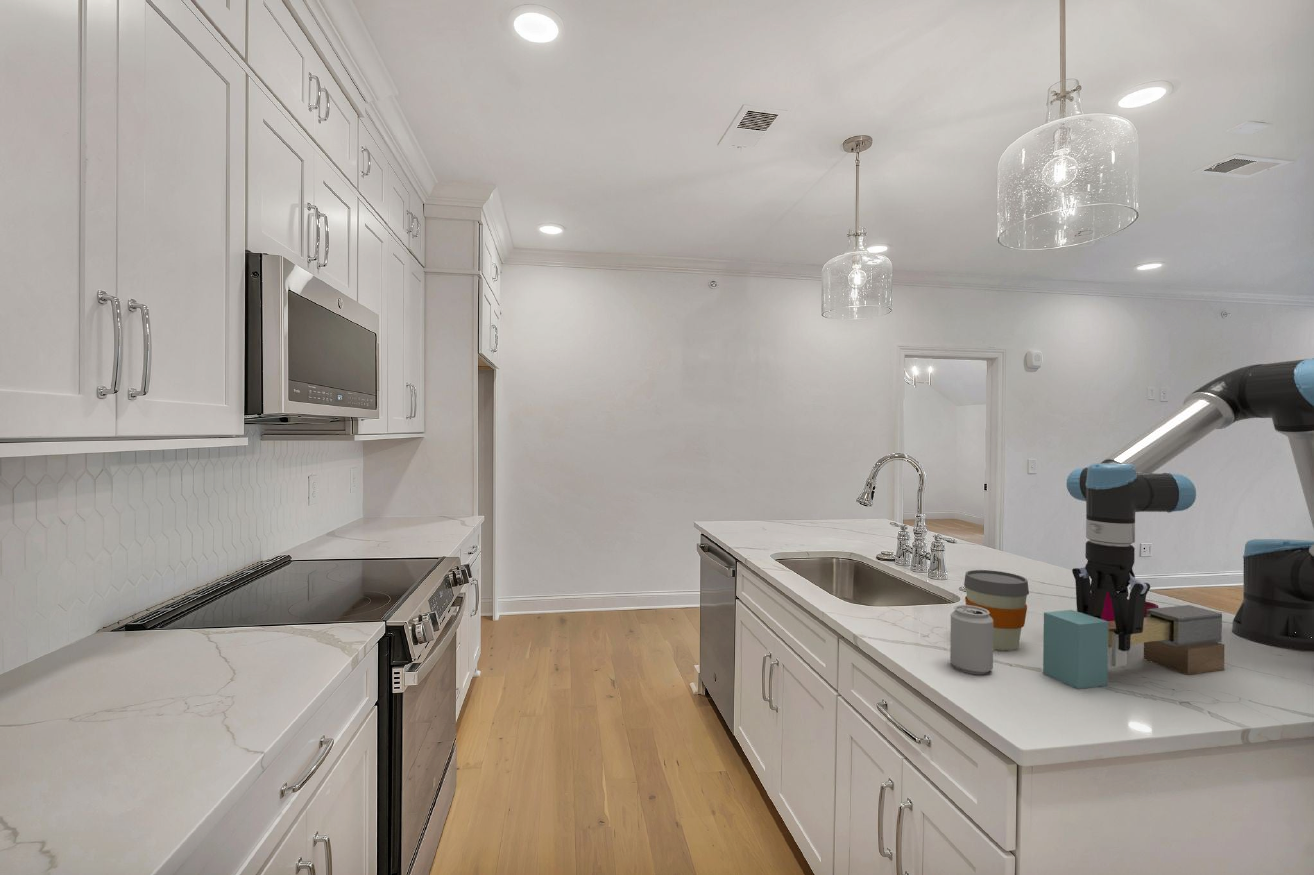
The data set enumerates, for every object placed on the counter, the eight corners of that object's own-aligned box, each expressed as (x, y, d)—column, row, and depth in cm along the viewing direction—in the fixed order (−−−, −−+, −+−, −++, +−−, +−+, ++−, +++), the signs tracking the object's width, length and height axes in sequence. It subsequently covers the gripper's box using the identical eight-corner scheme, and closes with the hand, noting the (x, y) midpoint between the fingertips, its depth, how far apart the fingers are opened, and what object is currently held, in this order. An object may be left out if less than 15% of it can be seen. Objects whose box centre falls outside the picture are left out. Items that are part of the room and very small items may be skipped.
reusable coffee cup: (1038, 656, 120) (1039, 585, 120) (973, 650, 123) (974, 581, 123) (1014, 635, 132) (1015, 571, 132) (956, 630, 135) (957, 568, 135)
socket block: (1070, 669, 114) (1071, 609, 113) (1107, 685, 107) (1108, 621, 106) (1043, 672, 112) (1043, 612, 112) (1078, 689, 105) (1079, 624, 105)
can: (992, 679, 109) (993, 617, 109) (948, 670, 113) (949, 610, 113) (993, 665, 115) (993, 606, 115) (951, 657, 119) (952, 600, 119)
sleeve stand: (1182, 653, 122) (1182, 603, 122) (1227, 669, 114) (1228, 615, 114) (1140, 659, 119) (1140, 607, 119) (1183, 675, 111) (1184, 619, 111)
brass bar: (1169, 631, 118) (1170, 614, 118) (1188, 637, 114) (1189, 620, 114) (1063, 643, 111) (1064, 626, 111) (1080, 649, 107) (1081, 632, 107)
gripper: (1055, 535, 118) (1053, 647, 118) (1140, 552, 102) (1138, 681, 102) (1083, 534, 120) (1081, 644, 120) (1171, 550, 104) (1169, 677, 104)
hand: (1107, 661), depth 111 cm, fingers closed on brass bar, 3 cm apart
